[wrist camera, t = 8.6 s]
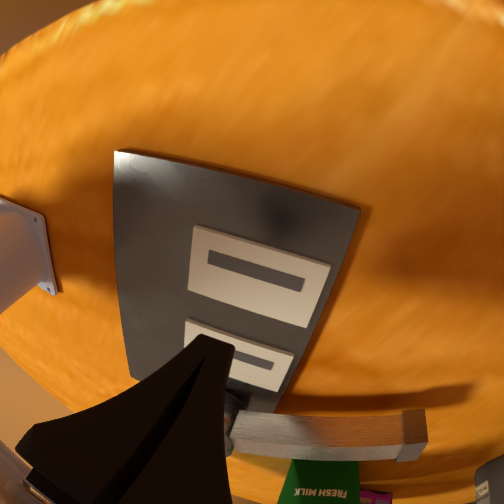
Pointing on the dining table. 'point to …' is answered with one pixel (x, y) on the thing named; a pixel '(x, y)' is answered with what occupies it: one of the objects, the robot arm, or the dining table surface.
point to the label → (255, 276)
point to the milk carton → (321, 483)
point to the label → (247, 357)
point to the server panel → (179, 252)
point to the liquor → (490, 482)
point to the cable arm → (324, 435)
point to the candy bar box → (375, 497)
